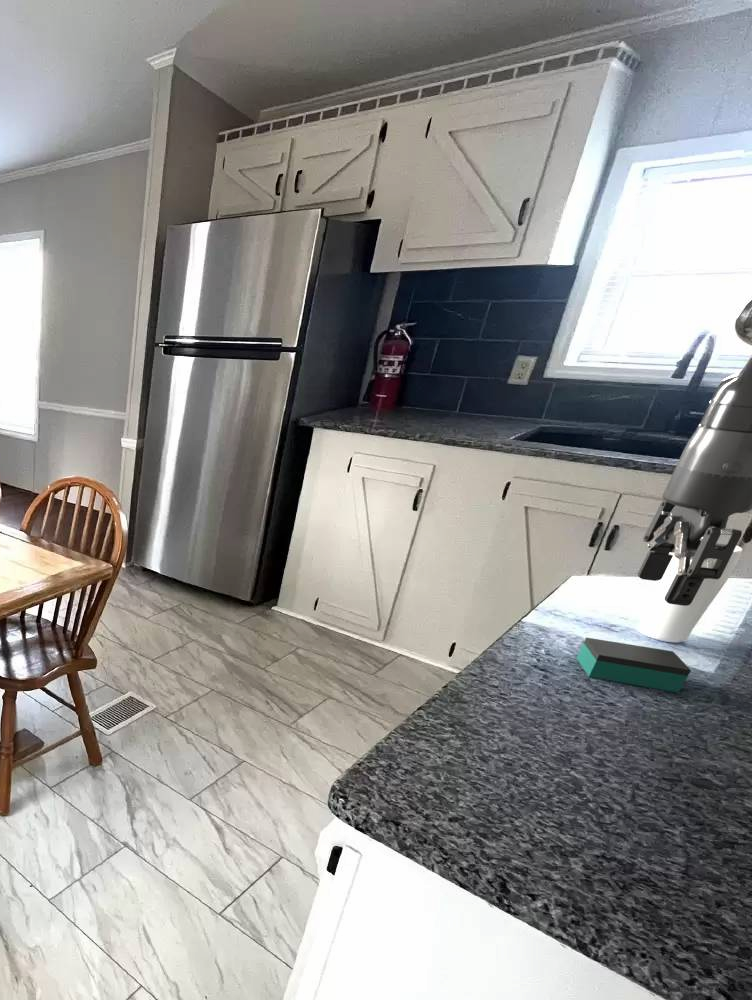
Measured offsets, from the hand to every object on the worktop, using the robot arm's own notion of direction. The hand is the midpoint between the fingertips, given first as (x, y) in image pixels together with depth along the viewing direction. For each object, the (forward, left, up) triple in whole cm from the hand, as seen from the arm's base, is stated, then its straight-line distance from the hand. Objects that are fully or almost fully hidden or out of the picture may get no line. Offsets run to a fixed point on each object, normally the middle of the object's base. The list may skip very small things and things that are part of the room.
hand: (661, 590), depth 82 cm
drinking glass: (-9, -17, -13) cm, 23 cm away
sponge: (-1, 0, -13) cm, 13 cm away
